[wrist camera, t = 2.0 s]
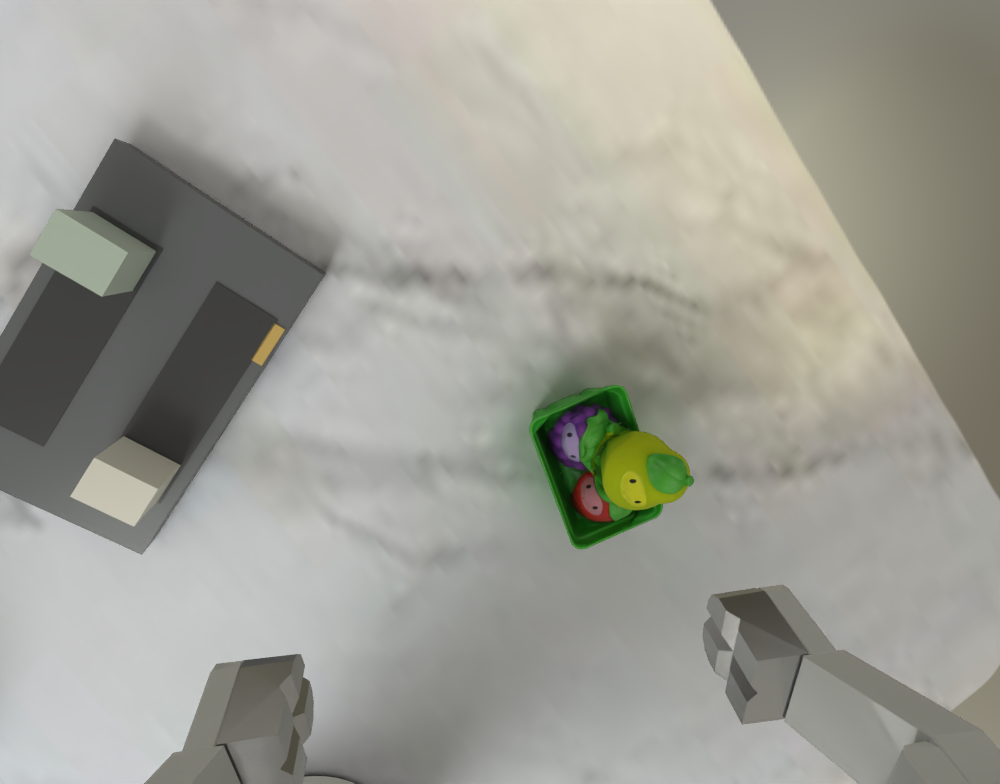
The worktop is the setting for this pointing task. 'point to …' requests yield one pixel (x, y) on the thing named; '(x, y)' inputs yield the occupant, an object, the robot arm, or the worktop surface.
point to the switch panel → (142, 344)
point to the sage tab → (92, 252)
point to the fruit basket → (604, 465)
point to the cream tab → (125, 480)
